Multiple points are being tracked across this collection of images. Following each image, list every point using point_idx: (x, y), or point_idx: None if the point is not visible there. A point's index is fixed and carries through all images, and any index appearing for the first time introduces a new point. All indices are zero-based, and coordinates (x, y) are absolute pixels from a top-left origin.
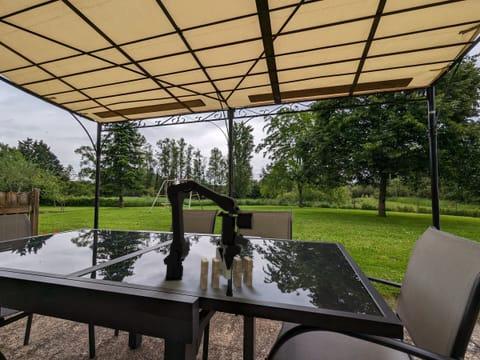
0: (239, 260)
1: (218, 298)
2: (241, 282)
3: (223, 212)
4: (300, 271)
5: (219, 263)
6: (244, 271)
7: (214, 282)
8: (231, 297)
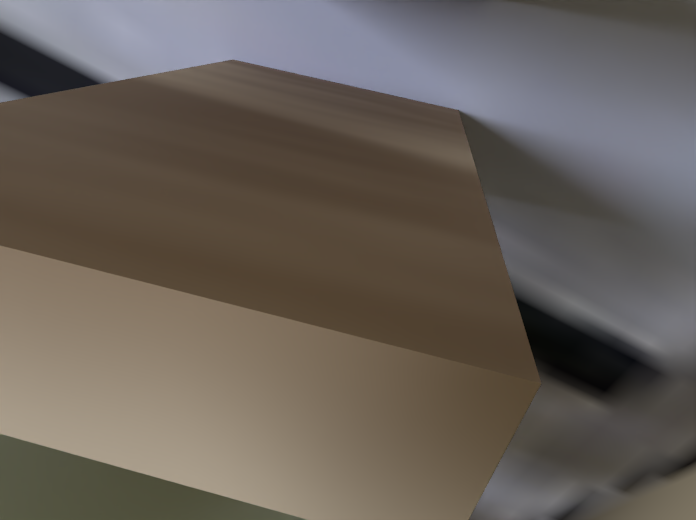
0: (475, 499)
1: (617, 479)
2: (462, 124)
3: None
4: None
5: None
6: None
7: None
8: (688, 388)
